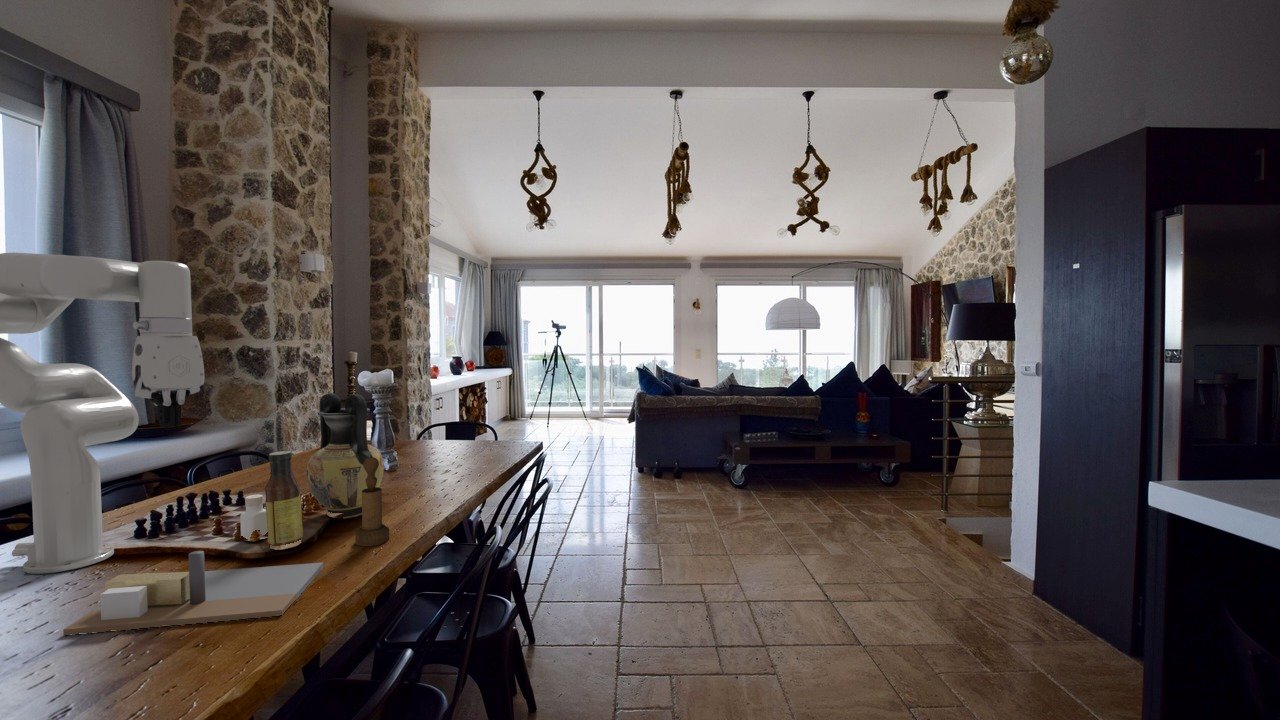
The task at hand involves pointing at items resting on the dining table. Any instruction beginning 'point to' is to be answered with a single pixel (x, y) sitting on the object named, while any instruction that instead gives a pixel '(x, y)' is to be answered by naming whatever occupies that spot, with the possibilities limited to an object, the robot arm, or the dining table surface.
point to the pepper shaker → (253, 516)
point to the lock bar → (156, 586)
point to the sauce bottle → (283, 502)
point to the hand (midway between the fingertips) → (170, 426)
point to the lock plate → (259, 581)
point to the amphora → (342, 456)
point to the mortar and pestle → (371, 510)
